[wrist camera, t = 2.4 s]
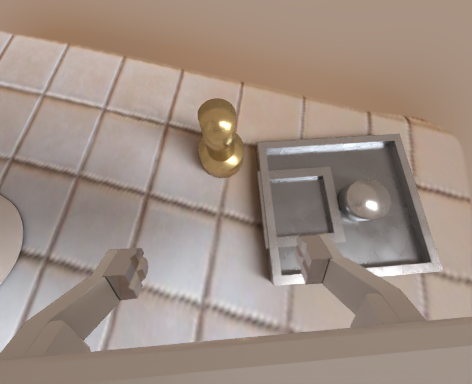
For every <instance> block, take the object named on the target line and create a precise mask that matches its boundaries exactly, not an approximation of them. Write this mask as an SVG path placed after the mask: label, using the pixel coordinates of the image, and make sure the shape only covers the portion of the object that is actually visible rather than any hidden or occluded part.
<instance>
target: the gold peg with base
mask: <svg viewBox="0 0 472 384" xmlns="http://www.w3.org/2000/svg"><path fill="white" fill-rule="evenodd" d="M198 120H199V123H200V127H201V130H202V134H203V137H202V138H201V140H200V142H199V145H198V154H199V157H200V160H201V162H202V165H203V167H204V169H205V170H206V171H207V172H208V173H209V174H210V175H212V176H214V177H218V178H227V177H230V176H232V175H234V174H235V173H236V172H238V170H239V169H240V167H241V165H242V162H243V154H244V145H243V142H242V140H241V138H240V137H239V136H238V135H237V134H236V133H235V123H236V113H235V109H234V107H233V106H232V105H231V104H230V103H229V102H228V101H226V100H223V99H211V100H208V101H206V102H205V103H203V104H202V105H201V107H200V108H199V111H198Z"/></svg>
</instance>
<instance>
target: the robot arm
mask: <svg viewBox="0 0 472 384" xmlns="http://www.w3.org/2000/svg"><path fill="white" fill-rule="evenodd" d="M22 241H23V225H22V220H21V217H20V214H19V212H18V211H17V209H16V208H15V206H14V205H13V204H12V203H11V202H10V201H9V200H7V199H6V198H4V197H3V196H1V195H0V284H1V283H2V282H3V281H4V279H5V278H6V277H7V276H8V274H9V273H10V271H11V270H12V268H13V266H14V265H15V263H16V261H17V258H18V256H19V253H20V250H21V246H22ZM296 242H297V244H298V245H297V246H296V247H295V258H296V262H297V264H298V266H300V267H301V268H302V269H301V274H302V276H303V279H304V281H305V284H319V283H323V285H324V286H325V287H326V288H327V289H328V290H329V291H330V292H331V293H333V294H334V295H335V296H336V297H337V298H338V299H339V300H340V301H341V302H342V303H343V304H344V305H345V306H347V307H348V308H349V309H350V310H351V311H352V312H353V313H354V314H355V315H356V316H355V318H354V320H353V321H352V323H351V326H350V327H351V328H344V329H334V330H323V331H312V332H301V333H290V334H279V335H268V336H257V337H246V338H235V339H224V340H213V341H203V342H192V343H181V344H170V345H159V346H149V347H138V348H127V349H116V350H105V351H95V352H90V351H91V350H90V347H89V346H88V345H87V344H86V343H85V342H84V339H85V338H86V337H87V336H88V335H89V334H90V333H91V332H92V331H93V330H94V329H95V328H96V327H97V325H98V324H99V323H100V322H101V321H102V320H103V319H104V318H105V317H106V316H107V315H108V314H109V313H110V311H111V310H112V309H113V308H114V307H115V306H116V305H117V304H118V303H119V302H120V301H119V300H128V299H137V298H138V296H139V293H140V291H141V288H142V286H143V285H142V283H141V281H142V280H143V279H145V278H146V275H147V272H148V262H147V259H146V258H144V257H143V254H144V252H143V250H142V248H130V249H114V250H109V251H108V252H107V253H106V254H105V256H104V257H103V259H102V260H101V262H100V263H99V265H98V266H97V268H96V269H95V271H94V272H93V274H92V275H91V277H90V278H86V279H85V280H83V281H82V282H81V283H79V284H78V285H77V286H75V287H74V288H72V289H71V290H70V291H68V292H67V293H65V294H64V295H63V296H61V297H60V298H58V299H57V300H56V301H54V302H53V303H51V304H50V305H49V306H47V307H46V308H45V309H43V310H42V311H40V312H39V313H38V314H36V315H35V316H33V317H32V318H31V319H29V320H28V321H26V322H25V323H24V325H23V326H22V327H21V328H20V330H19V331H18V332H17V333H16V334H15V336H14V337H13V338H12V339H11V341H10V342H9V343H8V344H7V346H6V347H5V348H4V349H3V351H2V352H1V353H0V384H472V317H463V318H452V319H441V320H431V321H426V319H425V318H424V317H423V316H422V315H421V314H420V312H419V311H418V310H417V309H416V308H415V306H414V305H413V304H412V303H411V302H410V300H409V299H408V298H407V297H406V296H405V294H404V293H403V292H402V291H401V290H400V289H398V288H397V287H395V286H393V285H392V284H390V283H388V282H387V281H385V280H383V279H382V278H380V277H378V276H377V275H375V274H374V273H372V272H370V271H369V270H367V269H365V268H364V267H362V266H360V265H359V264H357V263H355V262H354V261H352V260H351V259H349V258H347V257H346V258H344V257H343V255H342V254H341V252H340V251H339V249H338V248H337V246H336V245H335V244H334V242H333V241H332V239H331V238H330V236H329V235H328V234H327V233H324V234H313V235H301V236H298V237H297V240H296Z"/></svg>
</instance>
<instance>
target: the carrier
mask: <svg viewBox="0 0 472 384" xmlns="http://www.w3.org/2000/svg"><path fill="white" fill-rule="evenodd" d="M256 157H257V166H258V172H257V179H258V189H259V198H260V207H261V216H262V225H263V235H264V244H265V248H267V257H268V266H269V275H270V282H271V283H272V284H273V285H274V286H277V285H288V284H300V283H305V281H304V279H303V276H302V274H301V269H302V268H301V267H300V266H298V264H297V262H296V258H295V247H296V246H297V245H298V244H297V242H296V240H297V237H298V236H301V235H313V234H324V233H327V234H328V235H329V236H330V238H331V239H332V241H333V242H334V244H335V245H336V246H337V248H338V249H339V251H340V252H341V254H342V255H343V257H344V258H346V257H347V258H349V259H351V260H352V261H354V262H355V263H357V264H359V265H360V266H362V267H364V268H365V269H367V270H369V271H370V272H372V273H374V274H375V275H377V276H378V277H379V276H391V275H402V274H414V273H425V272H436V271H443V270H442V267H441V264H440V261H439V257H438V254H437V251H436V248H435V245H434V242H433V238H432V235H431V232H430V229H429V226H428V223H427V219H426V216H425V213H424V210H423V207H422V204H421V200H420V197H419V194H418V191H417V188H416V185H415V182H414V178H413V175H412V172H411V169H410V166H409V163H408V159H407V156H406V153H405V150H404V147H403V144H402V140H401V137H400V134H388V135H372V136H355V137H339V138H322V139H306V140H289V141H273V142H258V143H257V147H256Z"/></svg>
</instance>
